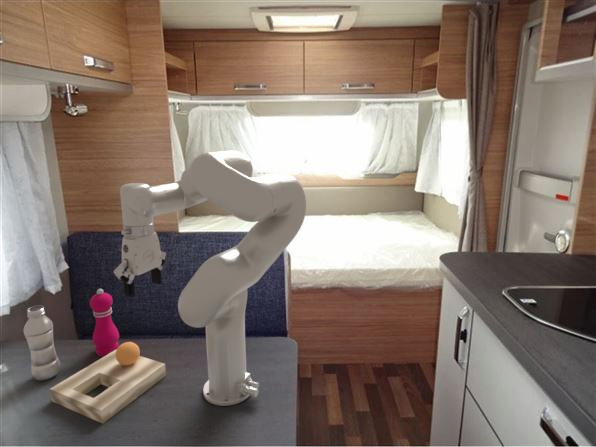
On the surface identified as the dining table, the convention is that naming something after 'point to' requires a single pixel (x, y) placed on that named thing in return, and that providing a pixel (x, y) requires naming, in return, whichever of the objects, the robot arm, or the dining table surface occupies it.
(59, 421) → the dining table surface
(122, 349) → the ball
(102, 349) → the pepper mill
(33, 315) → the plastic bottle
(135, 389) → the hole board
